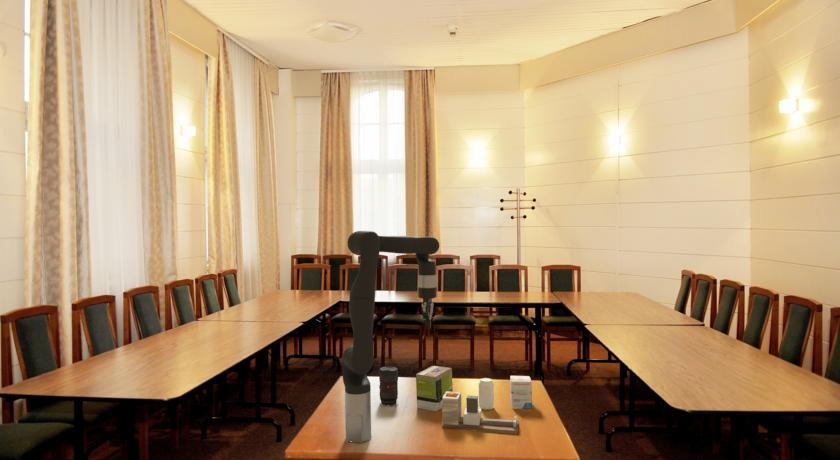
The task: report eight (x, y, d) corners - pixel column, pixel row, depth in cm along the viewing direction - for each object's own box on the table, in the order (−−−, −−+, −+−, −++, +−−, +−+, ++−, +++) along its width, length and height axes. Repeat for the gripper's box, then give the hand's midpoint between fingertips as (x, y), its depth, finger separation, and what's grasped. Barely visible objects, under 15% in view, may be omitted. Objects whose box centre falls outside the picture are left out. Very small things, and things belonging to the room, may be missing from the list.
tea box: (433, 397, 232) (433, 364, 232) (453, 401, 227) (453, 367, 227) (415, 408, 219) (415, 373, 219) (436, 412, 214) (436, 376, 214)
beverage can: (493, 411, 215) (493, 382, 214) (478, 410, 216) (477, 381, 216) (494, 406, 221) (494, 377, 220) (479, 405, 222) (479, 377, 222)
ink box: (530, 402, 225) (529, 375, 224) (532, 409, 216) (532, 381, 216) (510, 402, 225) (509, 375, 225) (511, 408, 217) (511, 380, 217)
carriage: (479, 425, 195) (478, 400, 195) (463, 424, 197) (463, 399, 197) (481, 418, 202) (481, 394, 202) (466, 417, 204) (465, 393, 203)
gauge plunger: (455, 421, 199) (455, 395, 199) (447, 420, 200) (447, 394, 200) (456, 418, 202) (456, 392, 202) (448, 417, 203) (448, 392, 203)
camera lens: (397, 406, 222) (397, 371, 222) (378, 406, 222) (378, 371, 222) (398, 399, 230) (398, 366, 230) (380, 400, 230) (380, 366, 230)
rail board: (517, 434, 191) (516, 403, 191) (442, 428, 197) (441, 398, 197) (518, 424, 200) (518, 394, 200) (447, 418, 207) (446, 390, 207)
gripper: (432, 288, 204) (433, 332, 204) (439, 284, 217) (440, 325, 217) (414, 287, 206) (414, 331, 206) (422, 284, 219) (422, 325, 219)
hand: (427, 328), depth 211 cm, fingers closed
